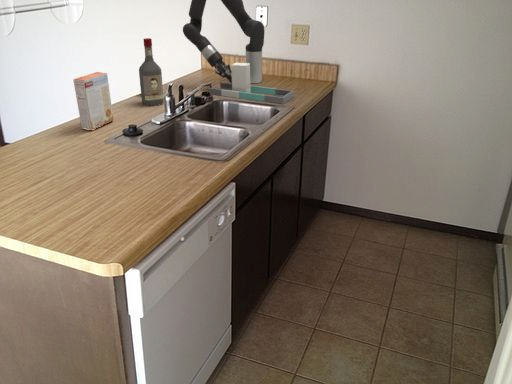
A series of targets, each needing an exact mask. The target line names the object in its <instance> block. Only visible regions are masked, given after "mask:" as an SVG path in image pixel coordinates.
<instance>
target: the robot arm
mask: <svg viewBox="0 0 512 384" xmlns="http://www.w3.org/2000/svg"><path fill="white" fill-rule="evenodd" d="M220 1H221V3H222V4H223V5H224V7H225V9H227V10H228V11H229V13H230V14H231V16H232V17H233V18H234V19H235V21H236V22H237V24H238V25H239V27H240V29H241V31H242V33H243V34H244V35H245V36H246V37H248V38H249V43H248V44H246V45H245V63H250V84H258V83H261V82H262V78H263V77H262V76H263V75H262V71H263V69H262V68H263V48H264V44H265V26H264V24H263V22H262V21H260V20H255V19H252V17H251V16H250V15H249V14H248V13H247V12H246V8H245V6H244V2H243V0H220ZM206 2H207V0H191V2H190V6H189V10H188V16H189V17H190V19H189V20H190V21H189V22H188V23H186V24H184V25H183V27H182V34H183V35H184V37H185V38H186V39H187V40H188V41H189V42H190V43H192V45H194V46H195V48H197V50H198V51H199V52H200V54H201V55H202V57H203V58H204V59H205V60H206V62H207V63H208V65H210V66H211V68H214V69H215V70H214V72H215V74H217V75H218V76H220V77H222V78H223V79H224V78H226V79H227V80H228V81H229V82H228V83H232V72H231V65H230V64H229V63H228V64H226V63H225V61H223V60H224V57H223V56H222V55H221V53H220V52H219V51H218V50H217V48H216V47H215V46H214V45H213V44H212V42H211V41H210V40H209V39H208V38H207V37H206V36H204V35H202V33H201V32H202V28H203V27H202V26H203V15H204V11H205V8H206Z"/></svg>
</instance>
